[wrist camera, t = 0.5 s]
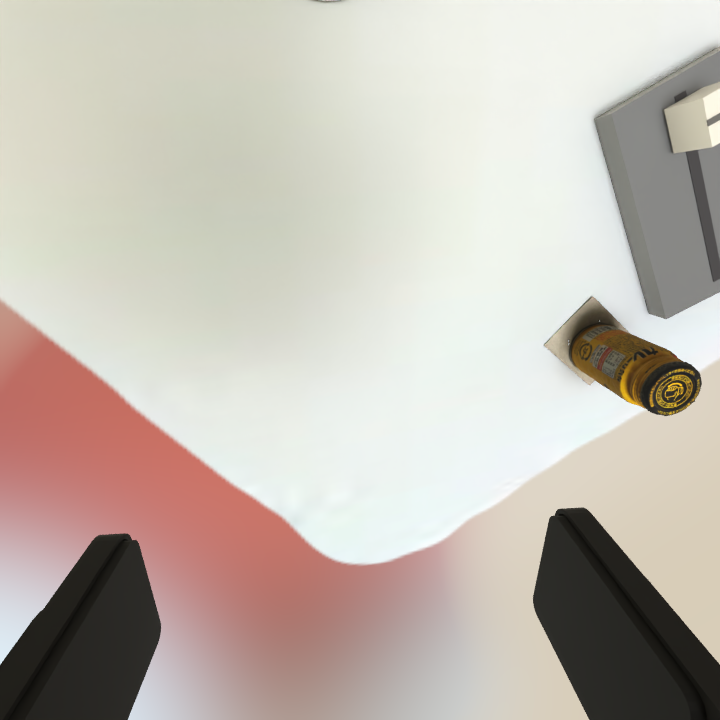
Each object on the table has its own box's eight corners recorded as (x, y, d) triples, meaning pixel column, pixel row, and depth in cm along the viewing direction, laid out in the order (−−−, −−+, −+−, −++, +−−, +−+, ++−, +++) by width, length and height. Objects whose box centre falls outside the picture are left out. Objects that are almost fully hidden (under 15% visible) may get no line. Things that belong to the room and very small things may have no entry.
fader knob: (663, 109, 36) (703, 98, 32) (703, 86, 35) (749, 71, 31) (673, 153, 37) (712, 147, 33) (711, 132, 37) (756, 123, 33)
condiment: (588, 384, 48) (665, 437, 37) (543, 344, 46) (610, 388, 35) (635, 339, 47) (731, 381, 36) (591, 295, 44) (678, 325, 33)
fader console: (594, 119, 38) (612, 113, 36) (716, 47, 37) (744, 36, 34) (649, 313, 46) (666, 319, 43) (752, 260, 44) (777, 263, 42)
